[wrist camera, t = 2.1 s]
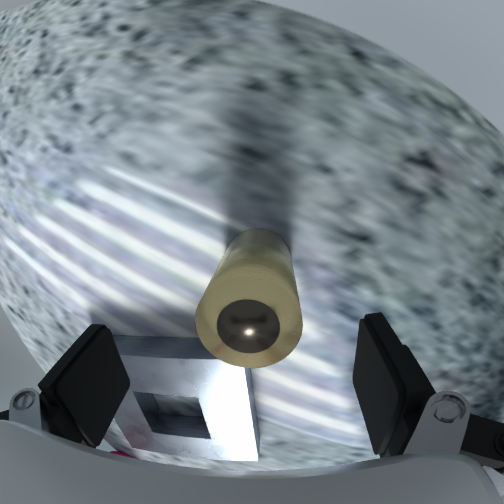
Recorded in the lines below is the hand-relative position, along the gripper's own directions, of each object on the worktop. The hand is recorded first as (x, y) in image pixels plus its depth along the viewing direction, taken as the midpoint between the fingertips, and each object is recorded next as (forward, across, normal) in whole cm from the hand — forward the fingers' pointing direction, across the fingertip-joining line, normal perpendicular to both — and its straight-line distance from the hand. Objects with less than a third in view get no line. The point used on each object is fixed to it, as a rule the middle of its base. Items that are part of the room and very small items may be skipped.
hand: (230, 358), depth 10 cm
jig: (+12, +8, +15) cm, 21 cm away
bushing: (+12, 0, +1) cm, 12 cm away
